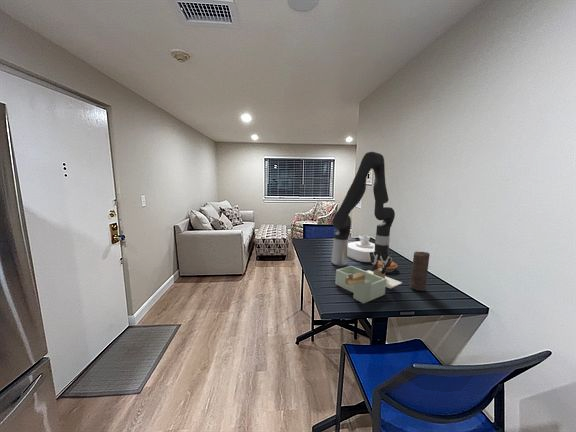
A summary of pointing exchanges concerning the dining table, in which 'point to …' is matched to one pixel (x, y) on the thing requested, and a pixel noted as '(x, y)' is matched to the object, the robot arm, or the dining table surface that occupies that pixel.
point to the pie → (389, 269)
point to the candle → (419, 270)
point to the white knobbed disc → (361, 249)
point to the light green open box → (361, 284)
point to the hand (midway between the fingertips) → (379, 272)
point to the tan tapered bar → (354, 278)
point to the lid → (389, 282)
